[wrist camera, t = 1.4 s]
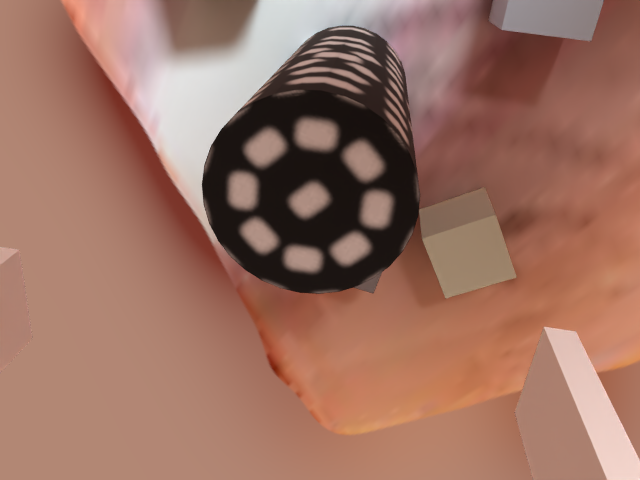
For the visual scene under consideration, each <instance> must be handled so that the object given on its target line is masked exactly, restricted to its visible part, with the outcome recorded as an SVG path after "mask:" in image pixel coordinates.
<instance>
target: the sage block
mask: <svg viewBox="0 0 640 480" xmlns="http://www.w3.org/2000/svg"><path fill="white" fill-rule="evenodd" d="M419 217H420V226H421V235H422V240H423V243H424V245H425V248H426V250H427V253H428V255H429V258H430V261H431V263H432V266H433V268H434V271H435V273H436V276H437V278H438V281H439V283H440V286H441V288H442V291H443V293H444V296H445V298H449V297H453V296H456V295H459V294H463V293H466V292H470V291H473V290H476V289H480V288H483V287H486V286H490V285H493V284H497V283H500V282H503V281H507V280H510V279H514V278H517V276H516V273H515V270H514V267H513V264H512V261H511V258H510V255H509V252H508V249H507V246H506V243H505V240H504V237H503V234H502V231H501V228H500V225H499V222H498V220H497V217H496V214H495V211H494V209H493V206H492V204H491V201H490V199H489V196H488V194H487V191H486V189H485V187H483V188H480V189H478V190H475V191H472V192H469V193H466V194H463V195H460V196H457V197H454V198H451V199H448V200H446V201H443V202H440V203H437V204H434V205H431V206H428V207H425V208H422V209H419Z"/></svg>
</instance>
